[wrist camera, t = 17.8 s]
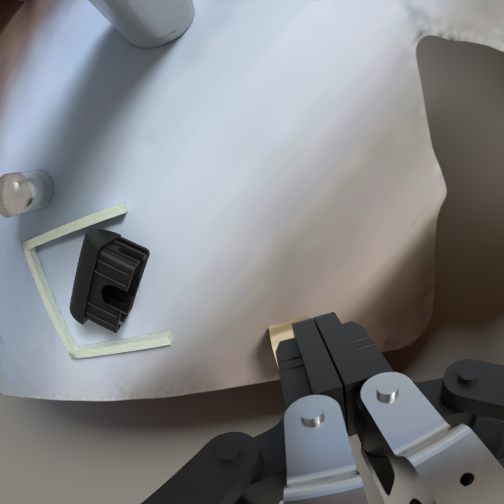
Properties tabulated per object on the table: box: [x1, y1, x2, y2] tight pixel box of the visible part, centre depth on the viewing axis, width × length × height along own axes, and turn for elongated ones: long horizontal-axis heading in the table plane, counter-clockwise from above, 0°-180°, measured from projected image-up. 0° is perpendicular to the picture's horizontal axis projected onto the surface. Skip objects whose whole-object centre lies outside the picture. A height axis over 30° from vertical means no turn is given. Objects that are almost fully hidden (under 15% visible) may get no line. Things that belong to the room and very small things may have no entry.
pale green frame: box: [21, 202, 173, 359], centre depth 34 cm, size 18×17×2 cm
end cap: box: [70, 229, 150, 333], centre depth 31 cm, size 10×7×7 cm
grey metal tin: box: [0, 170, 53, 217], centre depth 28 cm, size 5×5×7 cm
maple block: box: [268, 317, 307, 369], centre depth 36 cm, size 5×5×5 cm
